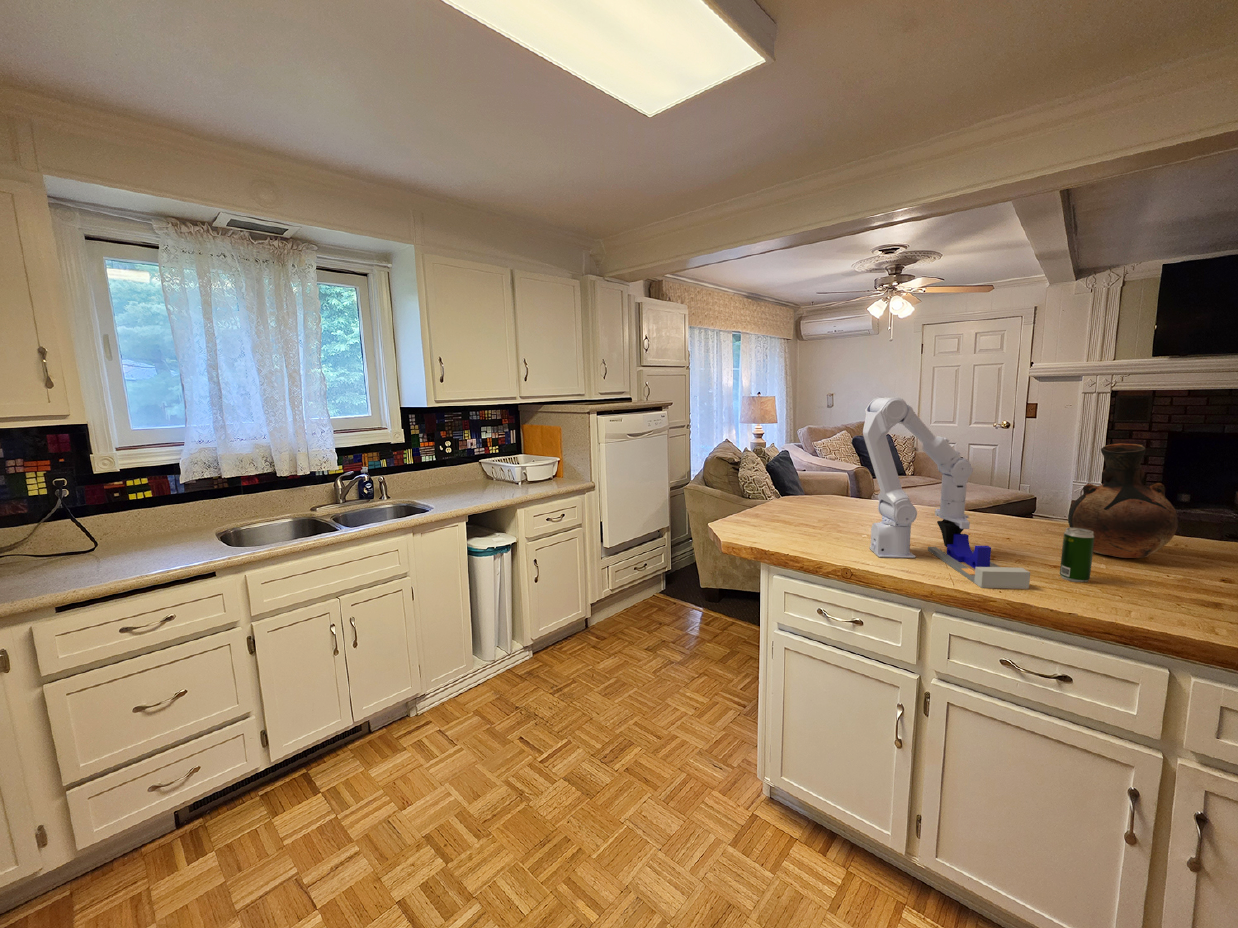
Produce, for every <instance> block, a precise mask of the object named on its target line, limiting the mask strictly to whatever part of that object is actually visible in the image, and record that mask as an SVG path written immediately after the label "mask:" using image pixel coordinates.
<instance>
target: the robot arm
mask: <svg viewBox="0 0 1238 928" xmlns="http://www.w3.org/2000/svg"><path fill="white" fill-rule="evenodd" d="M864 412H865V418H864V419H865V420H864V424H863V429H862V436H863V439H864V442H865V446H866V449H867V452H868V455H869V459H870V462H871V465H872V468H873V470H874V471H873V472H874V475H875V478H876V482H877V484H878V488H879V490H880V492H879V493H878V494H877V498H878V505H877V510H878V512H879V514H880V515H881V521H879V522H874V523H872V525H871V530H870V546H869V549H870V550H871V551H872V552H873V553H874V554H875V555H876V556H877V557H878V558H904V559H905V558H908V559H910V558H912V559H913V558H914V559H915V558H916V555H915V554H913V553H912V552H911V550H910V549H911V548H910V547H911V531H912V524H913V523H914V522H915V521H916V519H917V517H918V511H917V508H916V507H915V505H914V504H912V502H911V500H910V497H909V496H908V494H907V493H906V492H905V490H903V487H902V484H901V481H900V477H899V474H898V471H897V467H896V463H895V461H894V458H893V455H892V452H891V448H890V444H889V441H888V438H887V434H889V432H890V431H891V429H892V428H893V427H895V426H896V425H897V424H899V425H900V424H901V425H903V426H904V428H906V430H908V431H909V432H910V433H911V434H912V435H913V436H914V437H916V438H917V439H918V441H920V442H921V443H922V450H923V452H924V453H925V454H926V455H927V456H928V458H930V459H931V460H932V461H933V462H934V463H935V465H936V466H937V470H938V472H939V473H941V474H942V475H941V486H940V487H941V489H940V504H939V508H935V512H934V516H936V517H939V518H940V519H942V520H937V521H936V523H937V525H938V527H939V529H940V530H939V531H941V535H942V540H943V541H942V542H943V544H944V547H945V548H947V544H953V538H954V534H962V532H963V531H964V530H970V523H971V522H970V521H969V520H968V519H969V518H970V516H969V515H968V514H965V511H966V509H965V508H966V496H967V484H968V481H969V478H970V477H971V476H972V474H973V472H974V467H972V463H971V462H970V461H969V460H968V459H967V458H964V457H961V453H960V451H959V450H955V449H954V448H953V446H952V445H950V443H949V442H950V440H949V439H948V438H947V437H943V436H942V435H941V436H940V435H935V434H934V433H933V432H932V431H931V430H930V429H929V427H928V426H927V425H926V424H925V423H924V422H923V420H922V419H921V418H920V417H919V416H918V414H916V412H915V411H914V409H913V406H911V405H909V404H907V402H906V401H905V400H904V399H903V398H900V397H883V396H878V397H875V398H874V399H872V400H871V401H870V402H869V403H868V405H867V407H866V408H865V410H864Z"/></svg>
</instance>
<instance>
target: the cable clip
mask: <svg viewBox="0 0 1238 928" xmlns="http://www.w3.org/2000/svg"><path fill="white" fill-rule="evenodd" d="M969 539H970V538H969V534H967V533H961V534H954V538H953V544H947V547H946V554H948V555H949V556H951V557H952V558H954V559H955V560H957V561H958V562H960V563H965V564H966V565H968V566H969V567H971V569H972V568H973V569H974V570H975V567H990V561H991V553H992V547H991V546H990V545H974V550H972V548H971V547H970V546H971V545H970V540H969ZM971 550H972V551H974V552H973V553H972V551H971Z"/></svg>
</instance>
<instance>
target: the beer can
mask: <svg viewBox="0 0 1238 928" xmlns="http://www.w3.org/2000/svg"><path fill="white" fill-rule="evenodd" d="M1094 539H1095V536H1094V532H1093V531H1091V530H1088V529H1082V528H1070V527H1066V528H1065V531H1064V532H1063V538H1062V547H1061V548H1062V549H1061V557H1060V568H1059V569H1060V570H1059V576H1060V578H1061V579H1063V580H1065V581H1068V582H1072V583H1073V582H1074V583H1078V582H1086V583H1088V582H1089V581H1090V579H1091V574H1092V564H1093V556H1094V555H1093V554H1094V552H1093V547H1094Z"/></svg>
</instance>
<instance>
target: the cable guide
mask: <svg viewBox="0 0 1238 928" xmlns="http://www.w3.org/2000/svg"><path fill="white" fill-rule="evenodd" d="M927 551H928V552H930V554H932V553H933V554H934V555H933V554H932V555H933V556H935V557H936V558H938V559H939V558H940V559H939V560H941V561H942V562H943V563H945V564H946V563H947V564H946V565H948V566H949V567H950V568H952V569H954V570H955V571H957V572H958V573H959V572H960V574H961V575H962V576H963V577H965V578H966V577H967V578H966V579H968V580H970V581H971V582H973V583H974V584H975V585H976V586H978V587H979V588H981V589H1014V590H1015V589H1016V590H1020V589H1022V590H1029V589H1030V580H1031V571H1029V570H1028V569H1025V568H1023V567H1013V566H1012V567H1010V566H1009V567H1007V566H1006V567H1005V566H1003V567H1002V566H999V565H998V564H996V563H994V562H993V561H991V560H990V567H975V569H974V570H973V569H972V568H969V567H968V566H966V565H964V564H963V563H962V562H958V561H957V560H955V559H954V558H952V557H951V556H949V555H948V554H947V552H945V551H943V550H941V548H938V547H937V546H928V547H927ZM971 551H972V553H973V552H974V550H972V549H971Z"/></svg>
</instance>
